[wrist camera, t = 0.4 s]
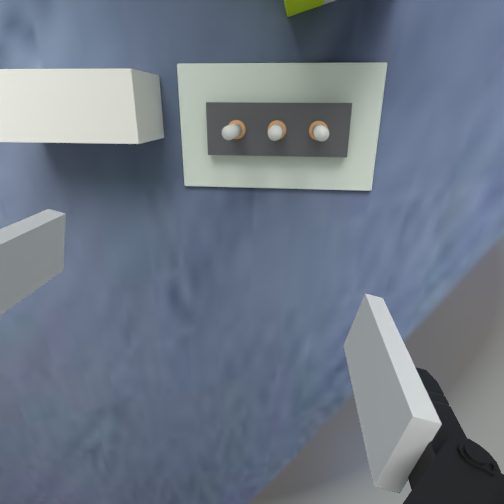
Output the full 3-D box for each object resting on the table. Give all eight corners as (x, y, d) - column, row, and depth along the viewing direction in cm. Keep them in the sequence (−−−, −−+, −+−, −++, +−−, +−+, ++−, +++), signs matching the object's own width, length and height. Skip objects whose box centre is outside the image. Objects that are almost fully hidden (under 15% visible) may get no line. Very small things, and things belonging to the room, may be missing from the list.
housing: (40, 136, 40) (-8, 141, 34) (28, 75, 38) (-26, 69, 32) (164, 137, 39) (138, 144, 33) (159, 75, 37) (130, 68, 30)
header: (178, 64, 36) (154, 55, 30) (386, 62, 34) (406, 53, 28) (185, 185, 41) (166, 199, 35) (370, 189, 39) (385, 205, 33)
